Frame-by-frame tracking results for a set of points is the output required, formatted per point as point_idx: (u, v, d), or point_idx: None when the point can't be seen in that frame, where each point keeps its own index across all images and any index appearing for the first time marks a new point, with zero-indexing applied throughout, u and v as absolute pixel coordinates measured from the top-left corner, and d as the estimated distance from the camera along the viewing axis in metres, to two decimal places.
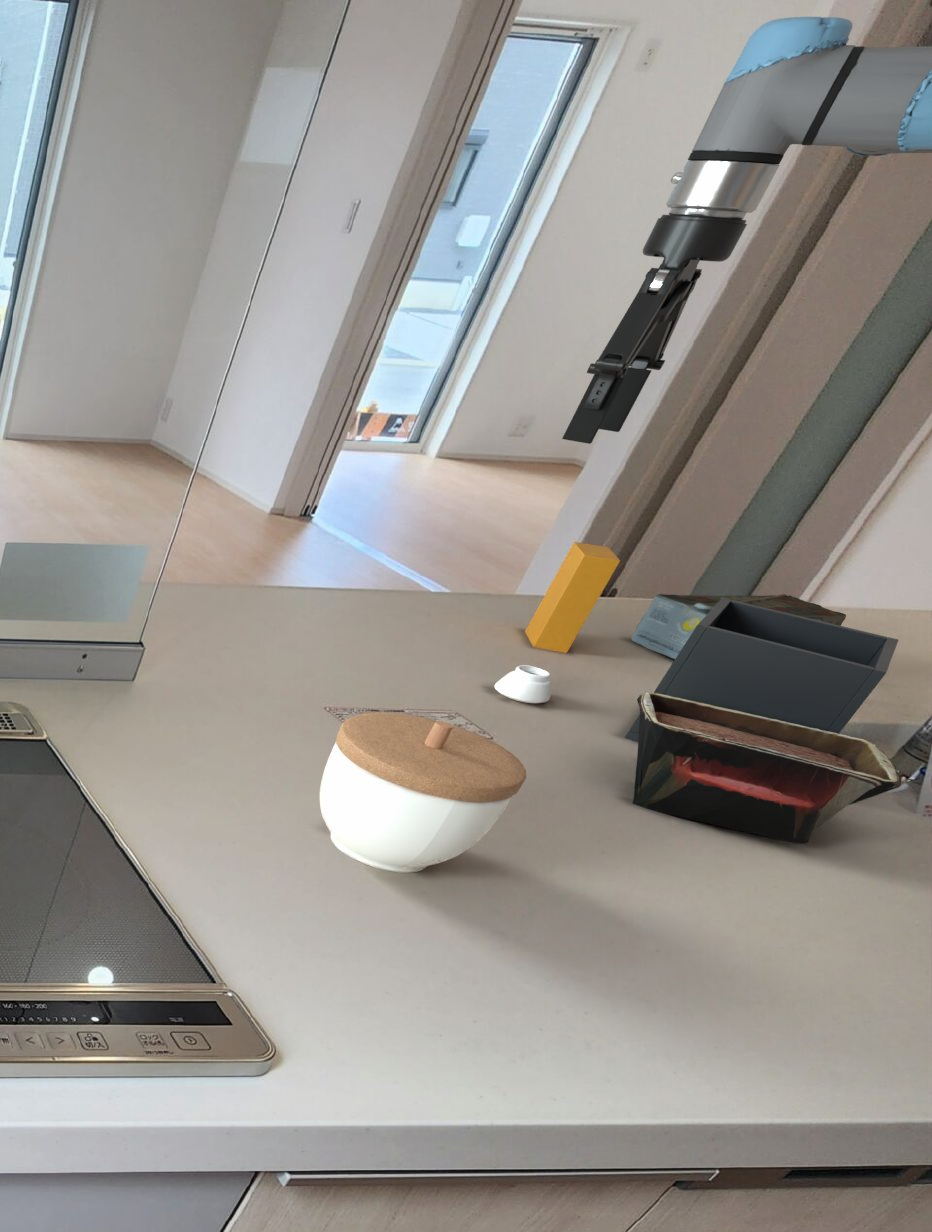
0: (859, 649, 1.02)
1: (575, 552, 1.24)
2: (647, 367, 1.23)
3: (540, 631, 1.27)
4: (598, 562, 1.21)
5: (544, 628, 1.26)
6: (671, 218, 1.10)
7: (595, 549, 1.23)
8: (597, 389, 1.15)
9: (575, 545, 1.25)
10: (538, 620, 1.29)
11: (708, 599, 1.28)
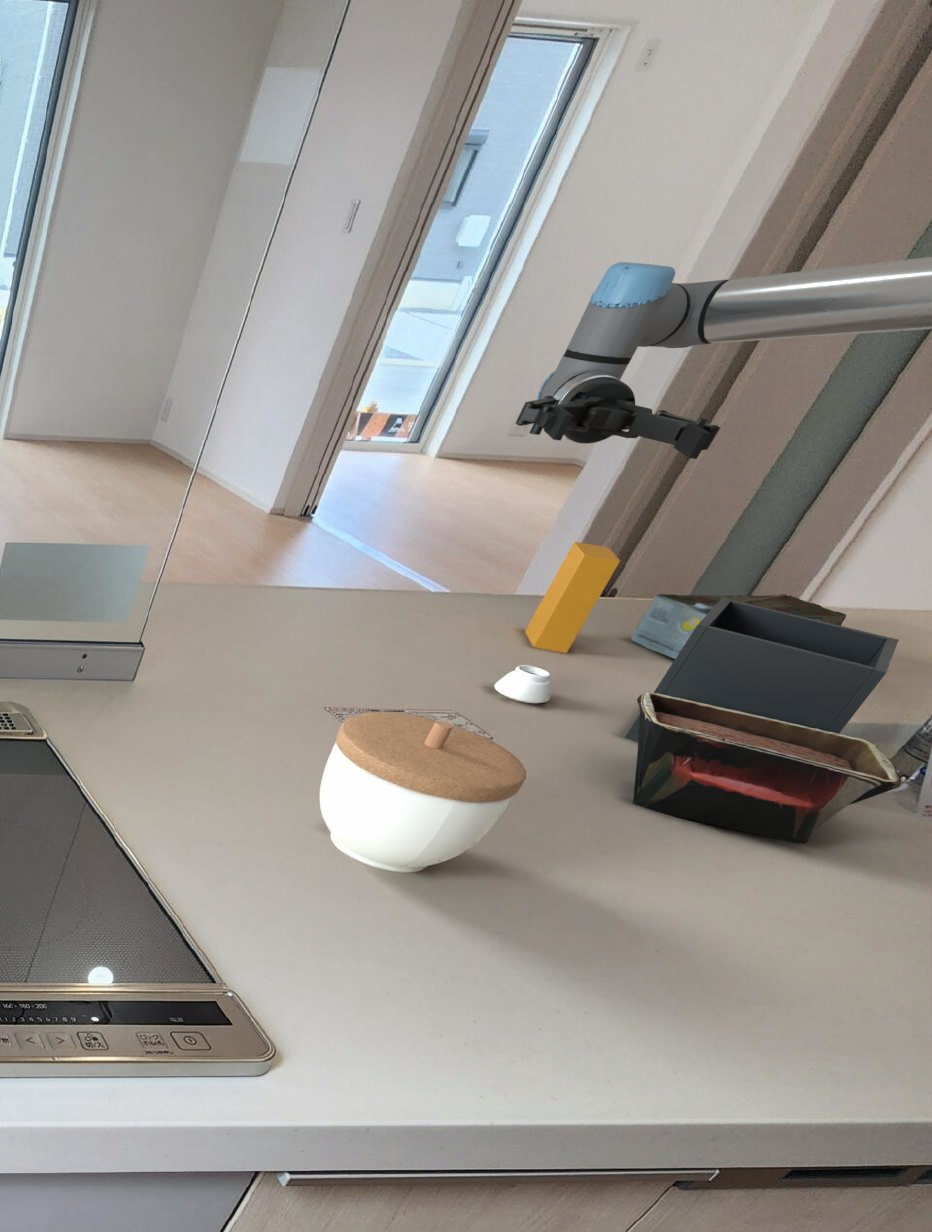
0: (859, 649, 1.02)
1: (575, 552, 1.24)
2: None
3: (540, 631, 1.27)
4: (598, 562, 1.21)
5: (544, 628, 1.26)
6: None
7: (595, 549, 1.23)
8: (539, 420, 1.30)
9: (575, 545, 1.25)
10: (538, 620, 1.29)
11: (708, 599, 1.28)
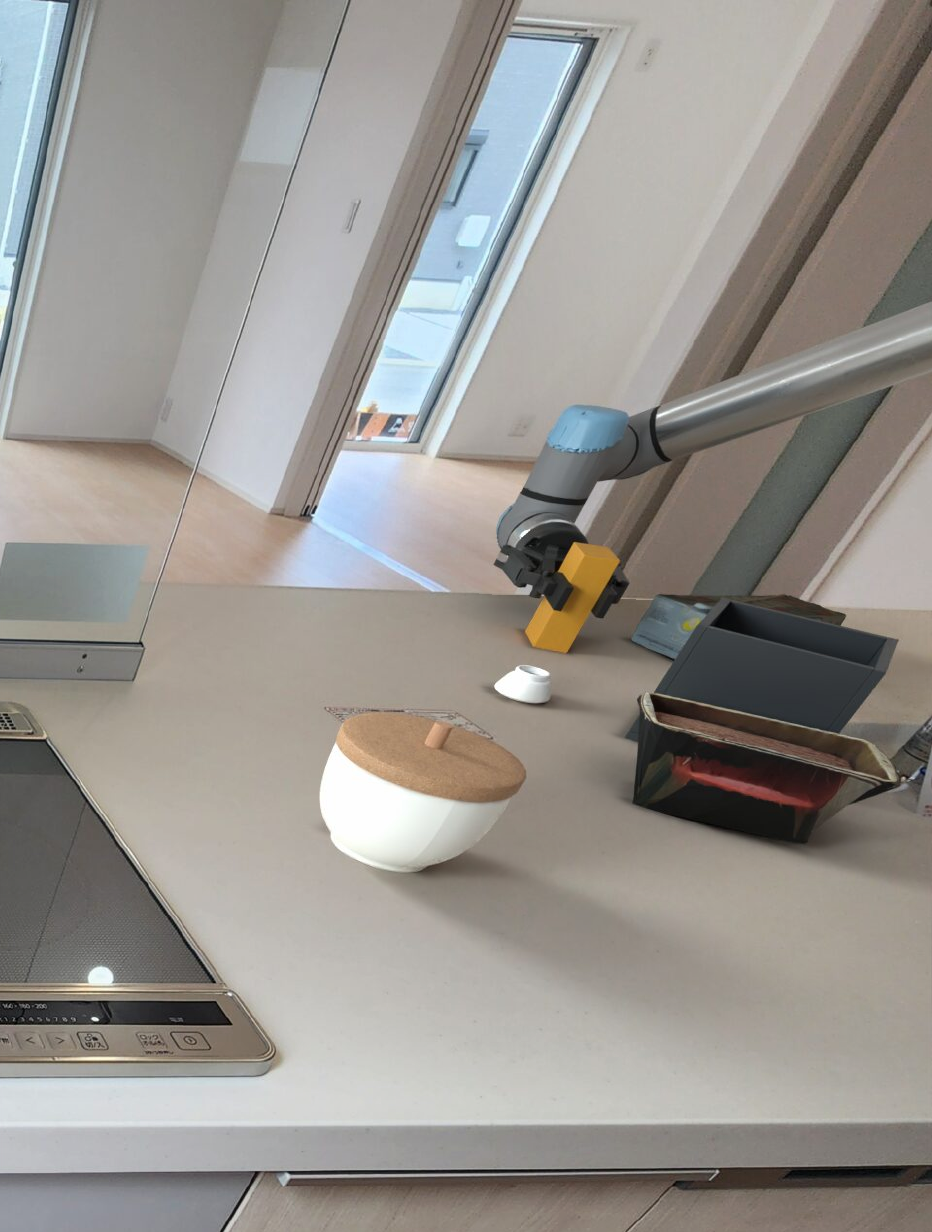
0: (859, 649, 1.02)
1: (575, 552, 1.24)
2: None
3: (540, 631, 1.27)
4: (598, 562, 1.21)
5: (544, 628, 1.26)
6: None
7: (595, 549, 1.23)
8: (539, 586, 1.27)
9: (575, 545, 1.25)
10: (538, 620, 1.29)
11: (708, 599, 1.28)
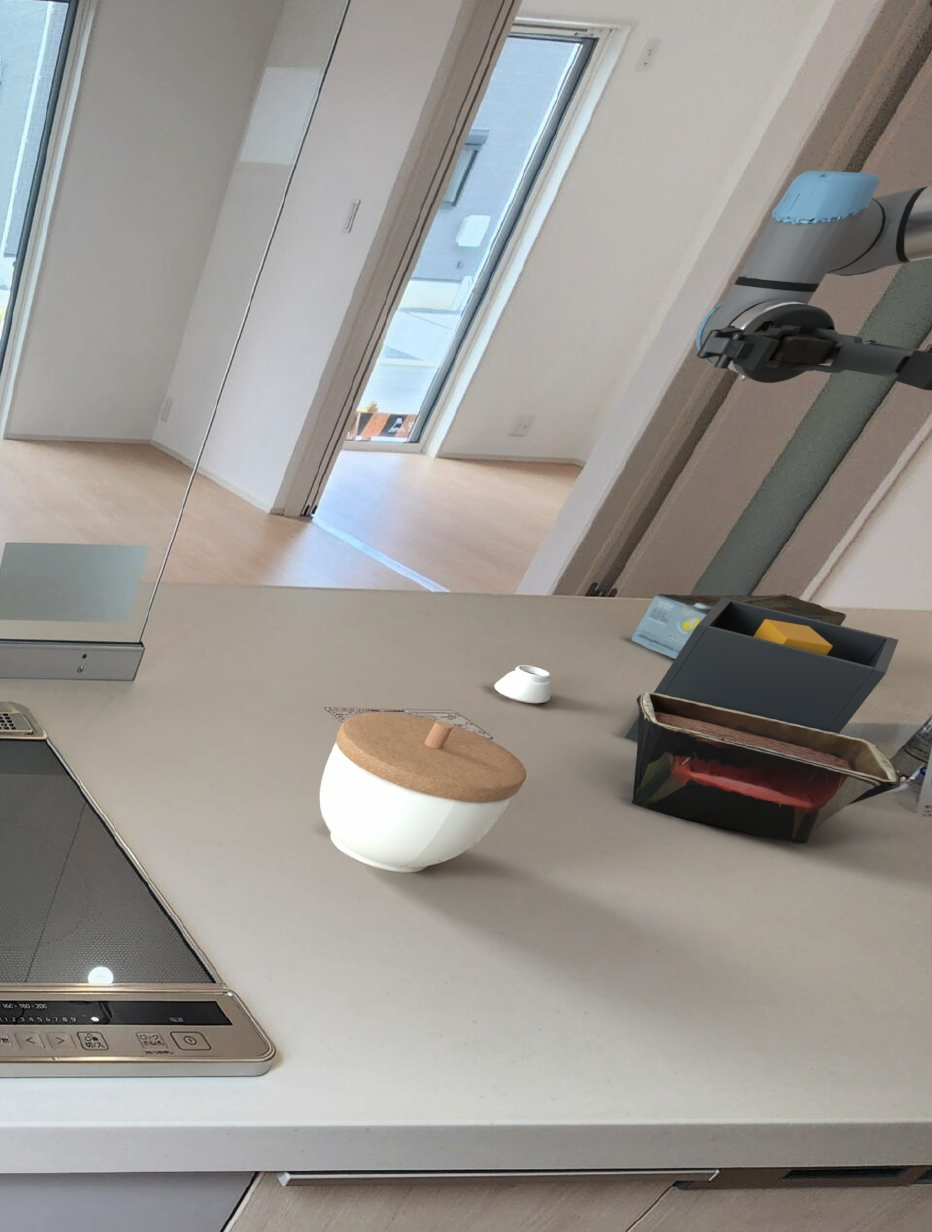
0: (859, 649, 1.02)
1: (770, 632, 1.01)
2: None
3: None
4: (804, 647, 0.98)
5: None
6: None
7: (795, 629, 1.01)
8: (730, 350, 1.10)
9: (767, 623, 1.02)
10: None
11: (708, 599, 1.28)
